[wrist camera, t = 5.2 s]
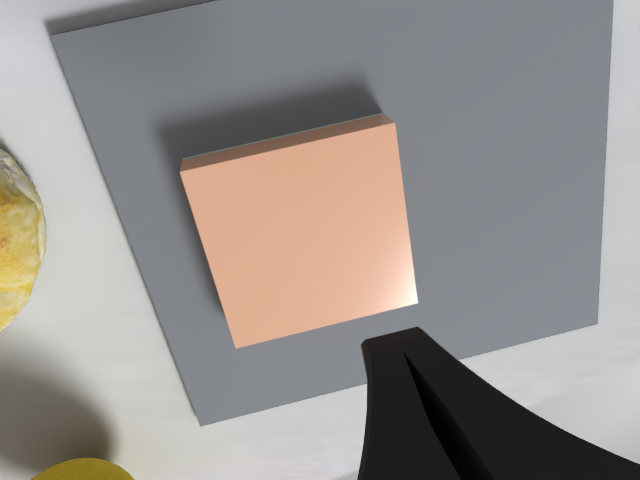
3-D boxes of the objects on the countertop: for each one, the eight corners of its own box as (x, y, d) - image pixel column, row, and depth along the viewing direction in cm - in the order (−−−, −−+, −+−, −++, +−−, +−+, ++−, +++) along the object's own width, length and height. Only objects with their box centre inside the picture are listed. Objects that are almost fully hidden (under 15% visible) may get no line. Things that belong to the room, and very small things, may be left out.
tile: (395, 122, 18) (179, 171, 17) (418, 303, 21) (235, 348, 20) (382, 112, 19) (182, 158, 19) (406, 283, 22) (235, 325, 22)
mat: (609, -83, 18) (617, -84, 18) (592, 319, 25) (597, 324, 25) (53, 34, 17) (50, 35, 16) (200, 419, 24) (200, 426, 24)
